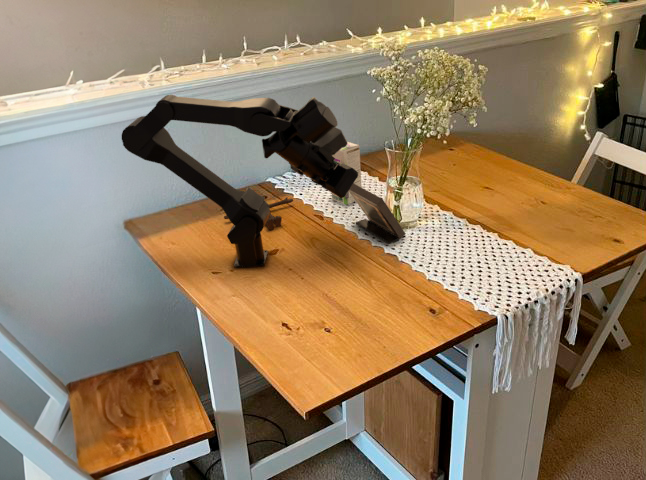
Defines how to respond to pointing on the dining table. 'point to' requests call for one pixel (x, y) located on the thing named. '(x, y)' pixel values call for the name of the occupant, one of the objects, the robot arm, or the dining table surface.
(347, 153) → the syrup box
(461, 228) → the dining table surface
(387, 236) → the frame stand
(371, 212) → the picture frame
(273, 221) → the brown spindly part
